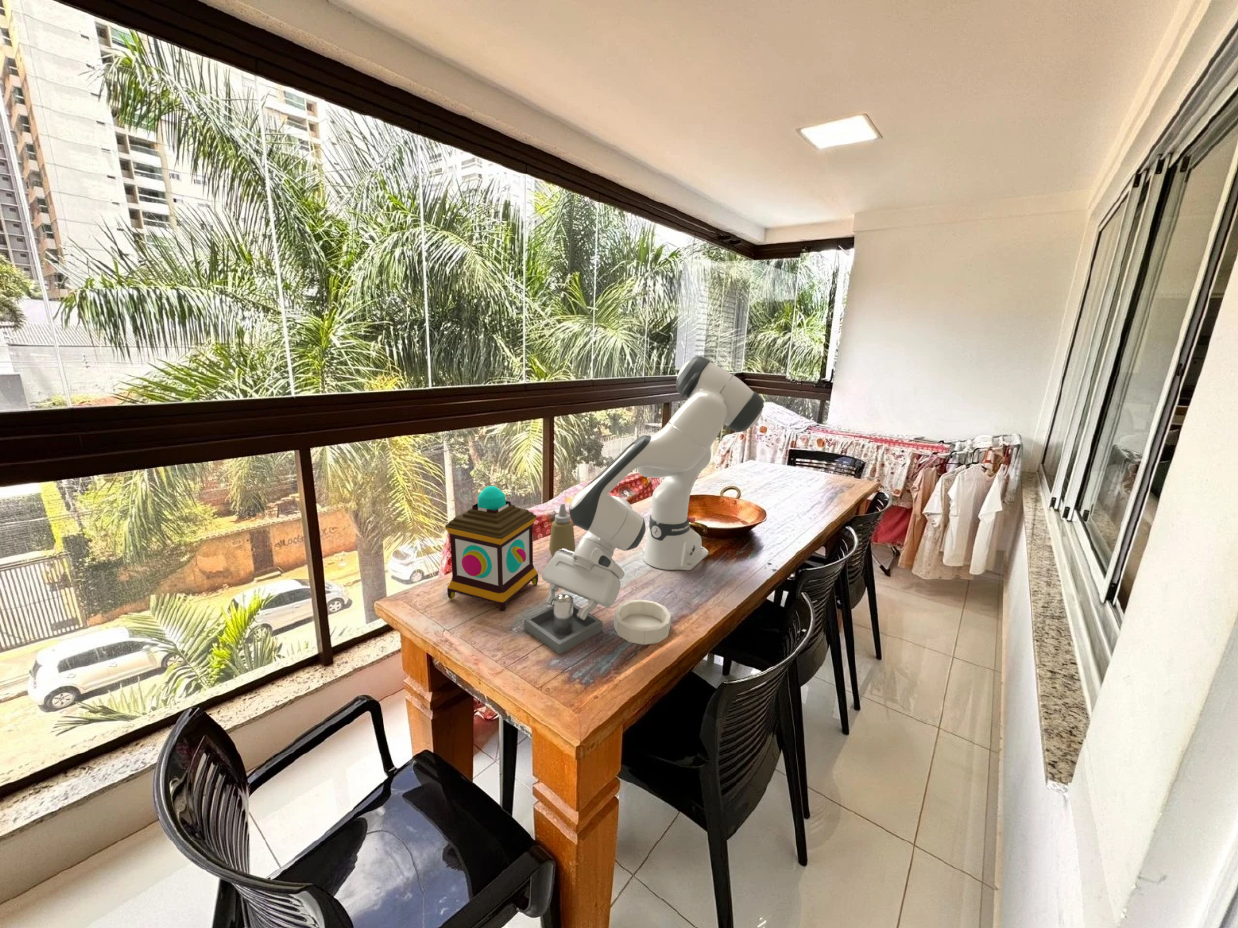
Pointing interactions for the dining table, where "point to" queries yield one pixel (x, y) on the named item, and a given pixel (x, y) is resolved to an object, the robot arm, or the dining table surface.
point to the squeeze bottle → (562, 532)
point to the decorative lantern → (492, 549)
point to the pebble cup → (563, 614)
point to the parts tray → (544, 631)
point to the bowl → (642, 621)
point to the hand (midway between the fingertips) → (564, 611)
